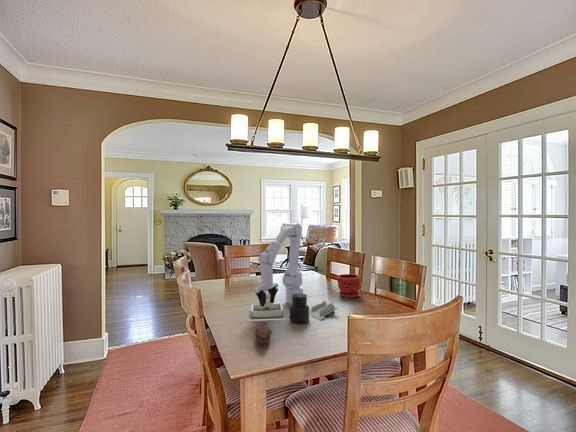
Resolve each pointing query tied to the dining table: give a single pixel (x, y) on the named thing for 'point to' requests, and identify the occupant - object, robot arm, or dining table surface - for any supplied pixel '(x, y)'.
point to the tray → (267, 313)
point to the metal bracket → (322, 310)
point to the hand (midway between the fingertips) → (267, 304)
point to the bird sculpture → (263, 333)
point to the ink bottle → (299, 309)
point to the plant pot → (348, 285)
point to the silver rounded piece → (267, 302)
